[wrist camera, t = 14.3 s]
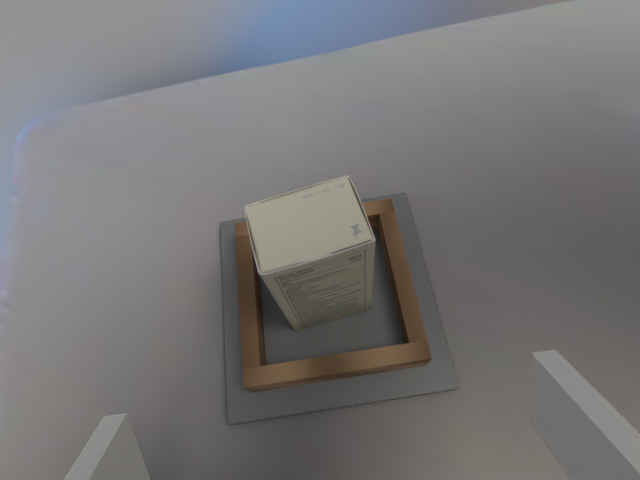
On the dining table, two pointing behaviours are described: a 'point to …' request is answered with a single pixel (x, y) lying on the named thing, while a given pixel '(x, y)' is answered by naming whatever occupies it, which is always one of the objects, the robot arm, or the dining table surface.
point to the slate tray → (335, 339)
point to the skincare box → (314, 251)
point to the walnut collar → (338, 365)
